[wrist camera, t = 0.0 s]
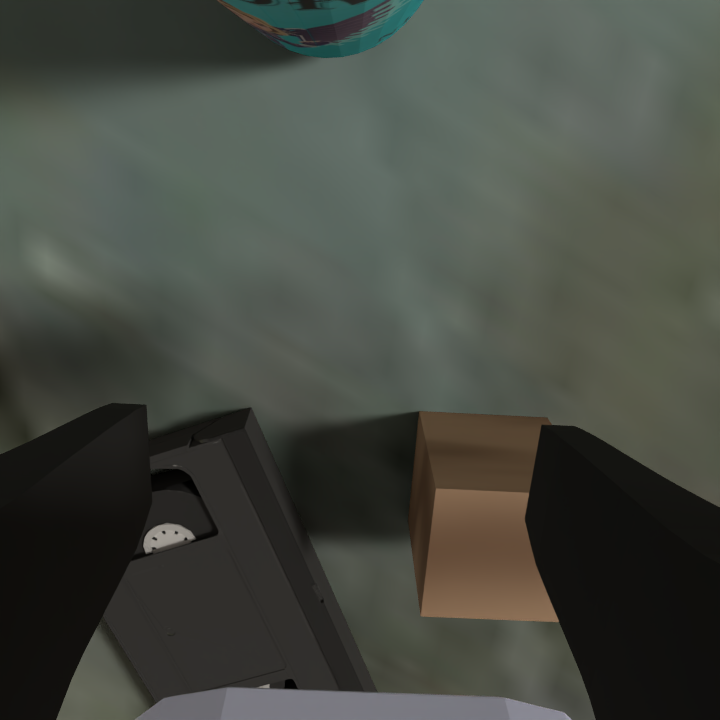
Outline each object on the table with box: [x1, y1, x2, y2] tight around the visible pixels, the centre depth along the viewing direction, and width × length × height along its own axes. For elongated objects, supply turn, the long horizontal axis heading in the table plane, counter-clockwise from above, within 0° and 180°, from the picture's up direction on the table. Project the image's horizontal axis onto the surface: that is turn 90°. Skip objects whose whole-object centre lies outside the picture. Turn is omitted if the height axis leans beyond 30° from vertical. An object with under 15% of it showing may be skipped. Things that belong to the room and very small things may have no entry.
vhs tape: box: [103, 408, 377, 703], centre depth 25 cm, size 14×8×2 cm, turn 19°
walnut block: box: [408, 411, 559, 622], centre depth 22 cm, size 4×4×5 cm
